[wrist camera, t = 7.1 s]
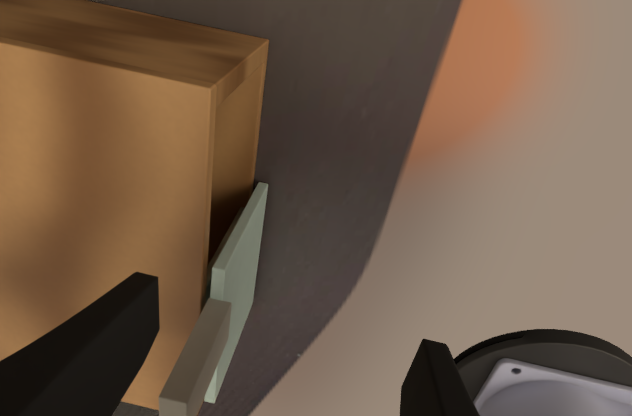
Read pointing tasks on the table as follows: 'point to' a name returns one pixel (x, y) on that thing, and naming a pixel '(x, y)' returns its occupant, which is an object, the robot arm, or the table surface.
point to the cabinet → (119, 164)
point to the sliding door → (218, 317)
